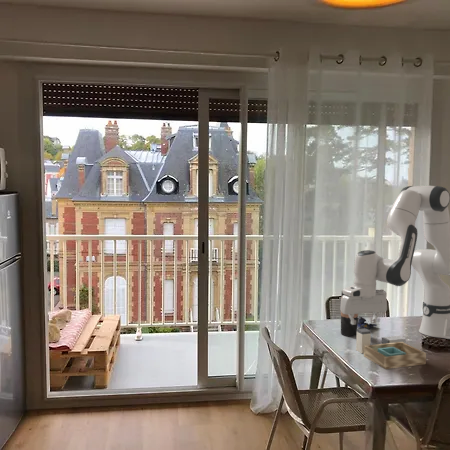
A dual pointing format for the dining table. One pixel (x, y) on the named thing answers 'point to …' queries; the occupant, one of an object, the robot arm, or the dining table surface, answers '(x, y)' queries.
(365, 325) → the snack package
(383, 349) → the teal socket
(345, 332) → the travel mug
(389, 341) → the grey plug
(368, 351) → the birch crate
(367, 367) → the dining table surface
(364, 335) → the ivory connector
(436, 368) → the dining table surface
